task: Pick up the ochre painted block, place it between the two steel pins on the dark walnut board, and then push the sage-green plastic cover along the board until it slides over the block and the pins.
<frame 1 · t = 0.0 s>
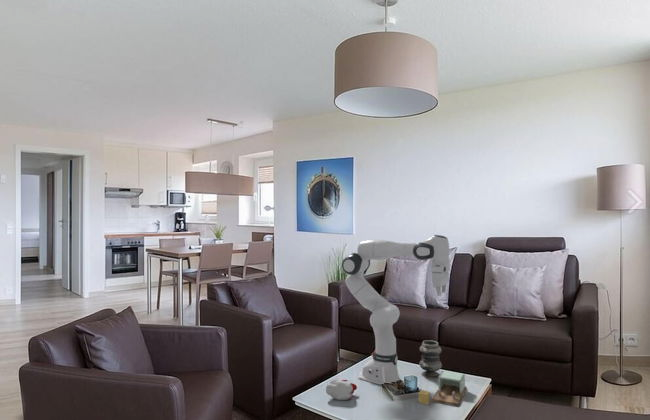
hand: (441, 294, 214), 48 cm above the table, fingers open, 8 cm apart
apothecary jar: (430, 375, 232), on the table
housing base: (449, 394, 206), on the table
jaw block: (424, 401, 199), on the table
white red lumpy figurine: (343, 398, 205), on the table
housing cover: (451, 381, 210), point 5 cm above the table, slide at 0.0 cm
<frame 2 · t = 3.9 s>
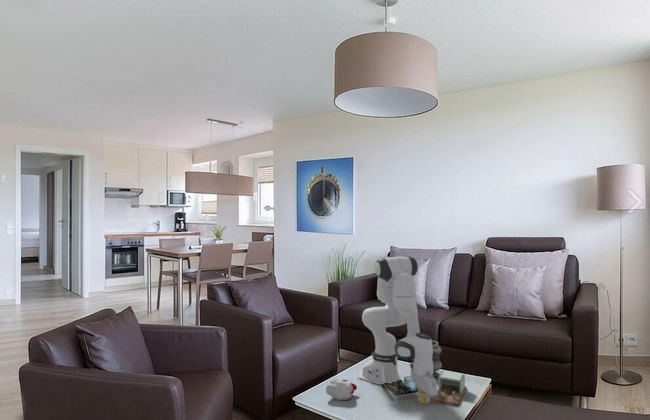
hand: (424, 398, 199), 2 cm above the table, fingers closed on jaw block, 6 cm apart
jaw block: (424, 401, 199), on the table, touching gripper
everything else where it was.
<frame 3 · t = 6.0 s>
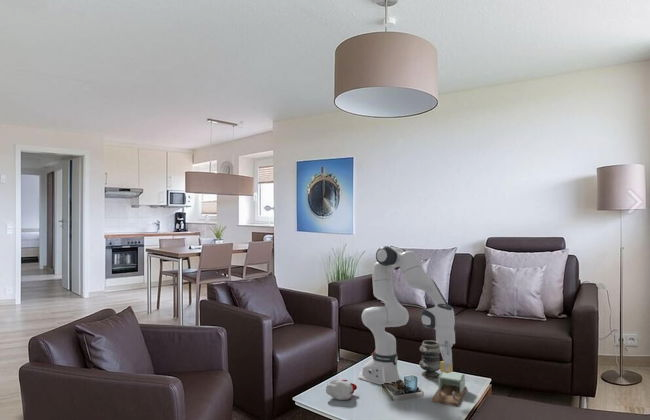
hand: (446, 367, 201), 15 cm above the table, fingers closed on jaw block, 6 cm apart
jaw block: (446, 371, 201), point 13 cm above the table, touching gripper
everything else where it was.
when the fingers open (4 cm above the table, at t = 8.0 s): jaw block drops 2 cm, resting on housing base.
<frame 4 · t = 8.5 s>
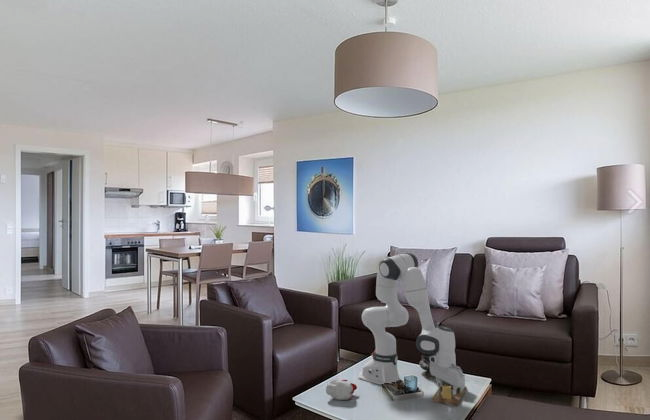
hand: (446, 390, 201), 4 cm above the table, fingers open, 8 cm apart
jaw block: (446, 396, 201), point 1 cm above the table, touching housing base
everything else where it was.
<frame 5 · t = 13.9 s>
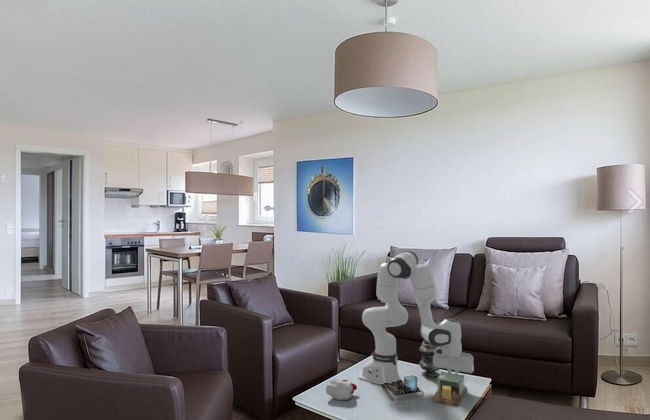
hand: (453, 378, 214), 5 cm above the table, fingers closed
housing cover: (451, 382, 209), point 5 cm above the table, slide at 1.6 cm, touching gripper
everything else where it was.
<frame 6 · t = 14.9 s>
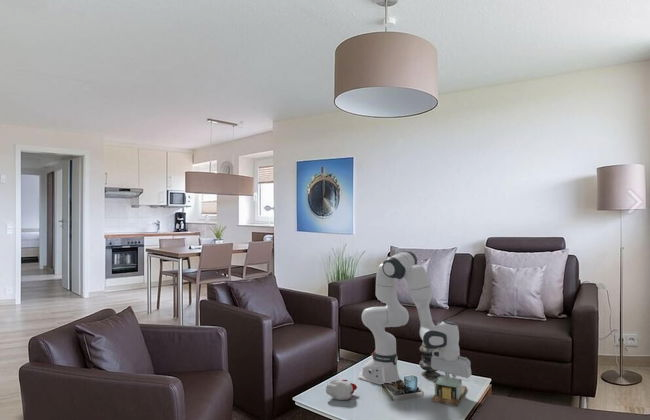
hand: (451, 382, 209), 5 cm above the table, fingers closed
housing cover: (448, 387, 204), point 5 cm above the table, slide at 7.7 cm, touching gripper
everything else where it was.
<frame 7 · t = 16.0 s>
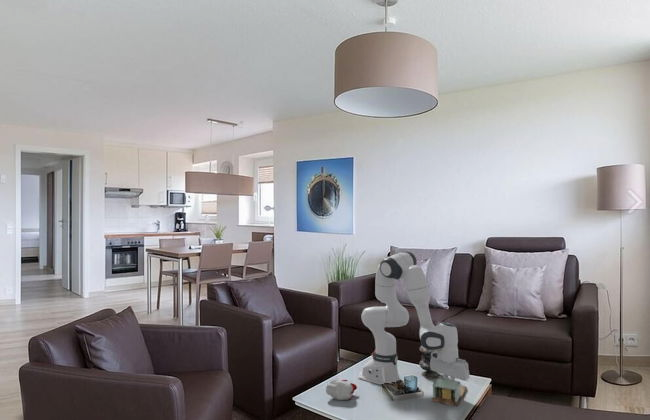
hand: (449, 384, 206), 5 cm above the table, fingers closed
housing cover: (446, 389, 201), point 5 cm above the table, slide at 11.0 cm, touching gripper
everything else where it was.
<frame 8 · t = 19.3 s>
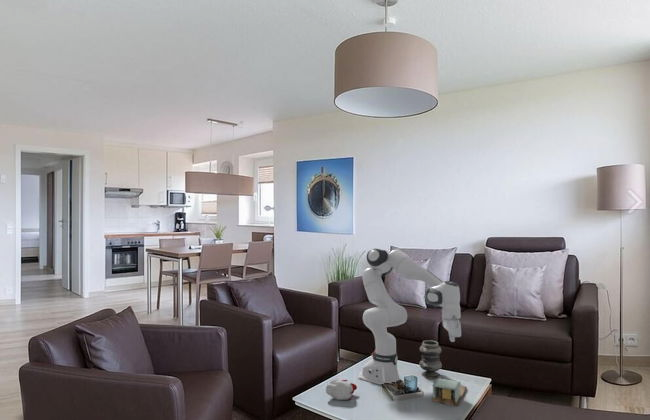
hand: (452, 341, 213), 24 cm above the table, fingers closed
housing cover: (446, 389, 201), point 5 cm above the table, slide at 11.0 cm
everything else where it was.
at the end: jaw block 0.1 cm from the target spot on the housing base, point 1.2 cm above the housing base's base; jaw block tilted 0°; housing cover slide at 11.0 cm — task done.
